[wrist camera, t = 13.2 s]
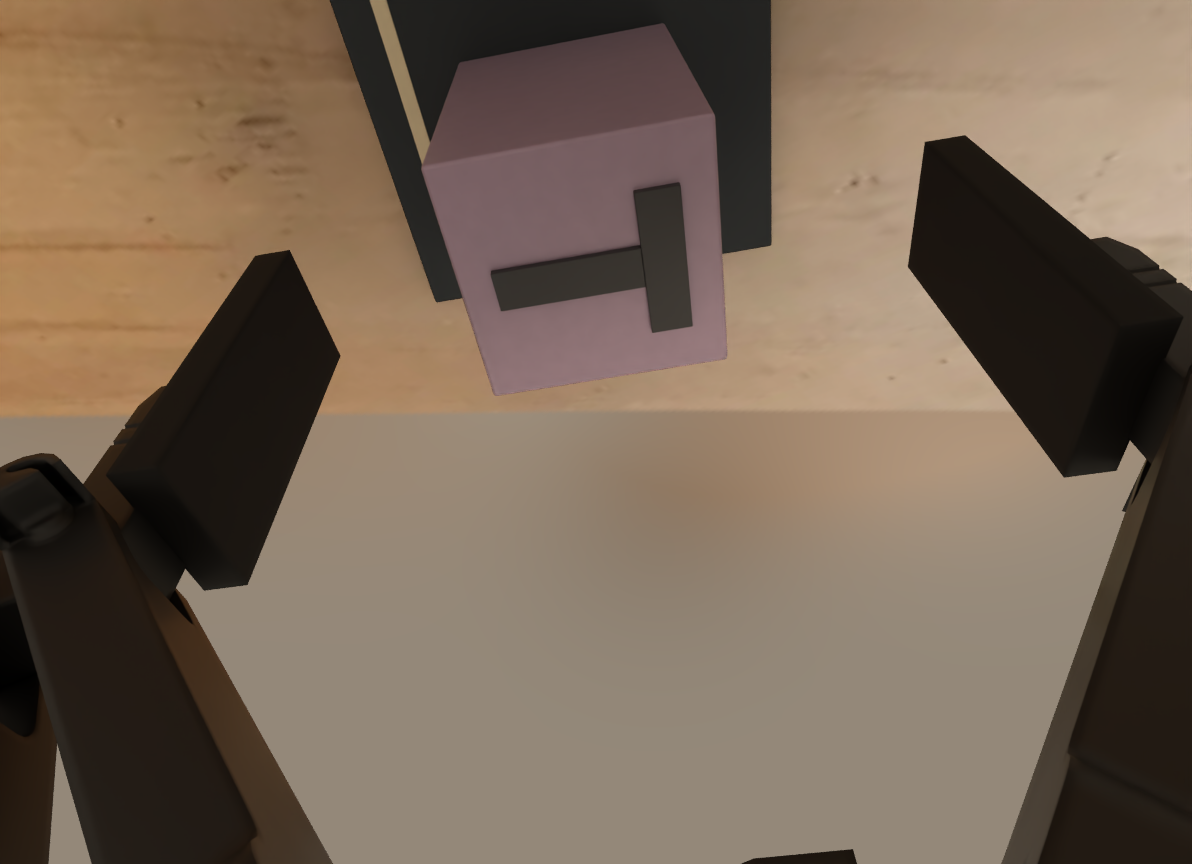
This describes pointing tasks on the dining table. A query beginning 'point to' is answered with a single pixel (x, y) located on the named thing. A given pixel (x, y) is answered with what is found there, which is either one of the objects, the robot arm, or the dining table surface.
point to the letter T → (582, 210)
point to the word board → (545, 17)
